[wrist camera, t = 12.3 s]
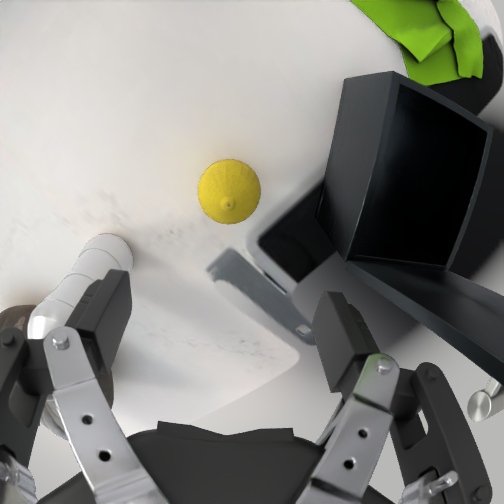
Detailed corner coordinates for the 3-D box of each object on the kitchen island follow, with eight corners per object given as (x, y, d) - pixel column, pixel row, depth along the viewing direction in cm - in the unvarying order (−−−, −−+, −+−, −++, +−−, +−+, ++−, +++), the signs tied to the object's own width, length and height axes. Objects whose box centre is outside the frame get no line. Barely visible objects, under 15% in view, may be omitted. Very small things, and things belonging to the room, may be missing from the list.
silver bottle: (83, 256, 31) (1, 378, 14) (103, 216, 29) (0, 339, 11) (123, 284, 33) (66, 420, 16) (147, 246, 31) (81, 394, 14)
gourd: (114, 414, 45) (84, 478, 29) (21, 350, 42) (-23, 397, 26) (144, 338, 38) (95, 427, 22) (23, 256, 35) (-49, 302, 18)
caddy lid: (514, 370, 6) (453, 464, 7) (577, 334, 7) (548, 397, 8) (347, 260, 22) (334, 318, 23) (450, 272, 23) (437, 317, 24)
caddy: (344, 78, 23) (392, 70, 15) (435, 115, 25) (493, 128, 16) (314, 217, 31) (344, 262, 22) (403, 232, 32) (447, 273, 24)
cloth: (490, 88, 22) (502, 90, 20) (365, 91, 24) (376, 91, 22) (450, -36, 13) (459, -40, 11) (309, -60, 14) (314, -69, 12)
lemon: (267, 186, 29) (278, 213, 22) (223, 214, 30) (220, 250, 23) (236, 142, 26) (237, 155, 19) (191, 174, 28) (177, 198, 21)
